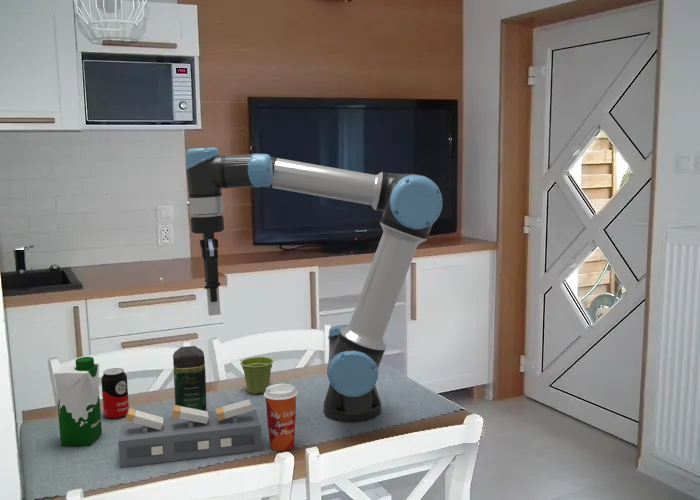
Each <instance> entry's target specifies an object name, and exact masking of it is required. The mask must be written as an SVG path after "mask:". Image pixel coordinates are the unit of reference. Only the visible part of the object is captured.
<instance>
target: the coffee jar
mask: <svg viewBox="0 0 700 500" xmlns="http://www.w3.org/2000/svg"><path fill="white" fill-rule="evenodd" d="M172 359H173V363H172V364H173V388H174V405H178V406H182V407H187V408H192V409H197V410H203V411H208V409H207V381H206V380H207V378H206V361H205V354H204V350H202V349H201V348H199V347H197V346H196V345H190V346H180V347H179V348H178V349H176V350H175V351H174V352H173V355H172Z"/></svg>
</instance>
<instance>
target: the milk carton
mask: <svg viewBox="0 0 700 500" xmlns="http://www.w3.org/2000/svg"><path fill="white" fill-rule="evenodd" d="M99 370H100V363H98V362H95V359H94V357H92V356H84V357H83V356H82V357H79V358H77V359H75V363H72V362H71V363H70V362H69V363H66V364H64V365H63V366H62V367H60V368H58V369H57V370H56V371H55V372H53V373H52V374H53V378H54V384H55V389H56V400H57V401H56V404H57V415H58V428H59V437H60V446H61V447H62V446H63V447H67V446H70V447H73V446H75V447H77V446H78V447H81V446H83V447H87V446H89V447H91V446H92V445H93V444H94V443H95V442H96V441H97V440H98V439H99V437H101V435H102V434H103V430H102V413H101V401H100V388H99V386H100V385H99Z"/></svg>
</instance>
